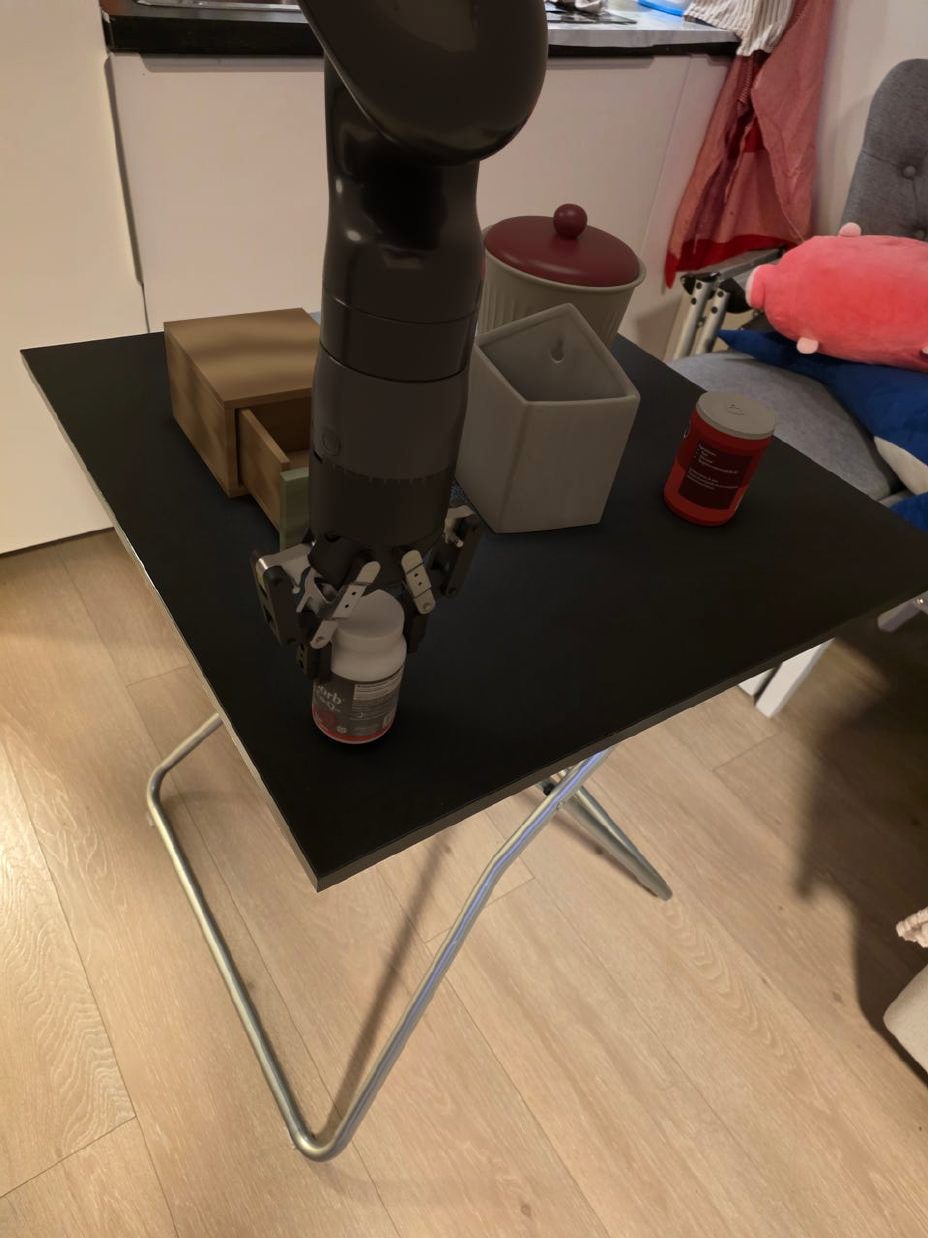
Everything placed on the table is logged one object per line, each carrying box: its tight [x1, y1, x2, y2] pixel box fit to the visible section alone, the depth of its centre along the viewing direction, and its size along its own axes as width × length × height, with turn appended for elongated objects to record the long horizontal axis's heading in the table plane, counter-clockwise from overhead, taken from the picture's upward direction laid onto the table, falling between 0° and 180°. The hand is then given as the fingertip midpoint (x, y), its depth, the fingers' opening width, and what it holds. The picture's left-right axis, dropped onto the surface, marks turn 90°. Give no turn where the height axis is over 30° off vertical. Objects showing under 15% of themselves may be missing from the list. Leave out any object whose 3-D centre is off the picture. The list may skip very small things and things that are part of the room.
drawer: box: [235, 396, 311, 552], centre depth 69 cm, size 19×13×8 cm, turn 33°
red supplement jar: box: [663, 390, 778, 527], centre depth 80 cm, size 8×8×11 cm
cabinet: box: [162, 307, 320, 499], centre depth 76 cm, size 15×14×10 cm
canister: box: [476, 203, 648, 361], centre depth 88 cm, size 18×18×21 cm
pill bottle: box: [311, 589, 407, 745], centre depth 52 cm, size 6×6×10 cm
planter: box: [454, 303, 641, 534], centre depth 71 cm, size 16×8×19 cm, turn 67°
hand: (360, 659), depth 51 cm, fingers closed on pill bottle, 5 cm apart
